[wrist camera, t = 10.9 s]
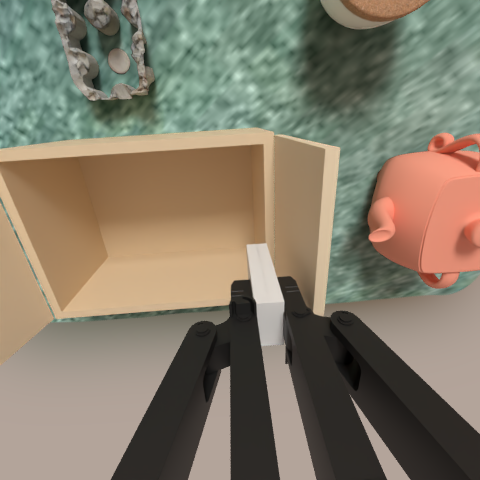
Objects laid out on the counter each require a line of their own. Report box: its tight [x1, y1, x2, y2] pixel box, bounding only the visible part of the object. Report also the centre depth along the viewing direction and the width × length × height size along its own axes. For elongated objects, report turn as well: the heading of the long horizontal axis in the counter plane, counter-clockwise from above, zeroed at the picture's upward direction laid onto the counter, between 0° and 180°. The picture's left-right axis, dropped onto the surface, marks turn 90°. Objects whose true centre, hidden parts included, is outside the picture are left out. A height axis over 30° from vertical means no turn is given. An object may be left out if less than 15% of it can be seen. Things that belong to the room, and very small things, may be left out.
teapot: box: [368, 133, 480, 288], centre depth 30 cm, size 15×17×13 cm
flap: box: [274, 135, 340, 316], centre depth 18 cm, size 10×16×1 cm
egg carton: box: [51, 0, 155, 101], centre depth 25 cm, size 11×8×4 cm
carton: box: [0, 128, 274, 319], centre depth 28 cm, size 22×16×12 cm
